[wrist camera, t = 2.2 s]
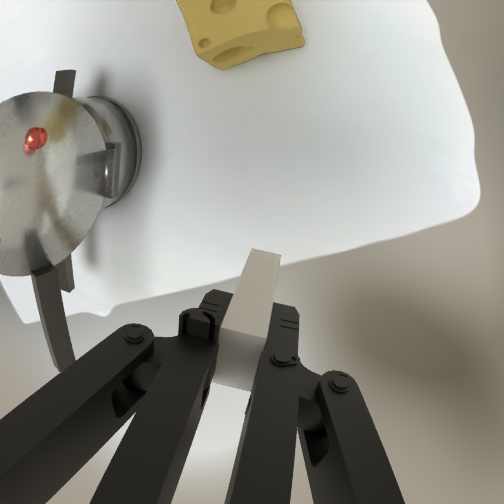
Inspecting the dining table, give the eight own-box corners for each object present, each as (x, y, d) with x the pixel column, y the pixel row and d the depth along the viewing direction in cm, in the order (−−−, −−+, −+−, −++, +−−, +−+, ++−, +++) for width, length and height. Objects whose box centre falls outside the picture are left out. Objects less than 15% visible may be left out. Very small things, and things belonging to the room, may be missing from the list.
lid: (-53, 102, 12) (-52, 101, 11) (118, 92, 26) (131, 92, 25) (5, 384, 24) (13, 398, 23) (114, 326, 39) (124, 335, 38)
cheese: (304, 47, 30) (306, 21, 21) (217, 75, 32) (189, 60, 23) (275, -20, 26) (266, -59, 17) (193, 8, 29) (160, -21, 20)
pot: (61, 77, 34) (19, 76, 26) (161, 74, 33) (124, 65, 25) (57, 253, 46) (24, 276, 38) (142, 279, 45) (114, 311, 37)
